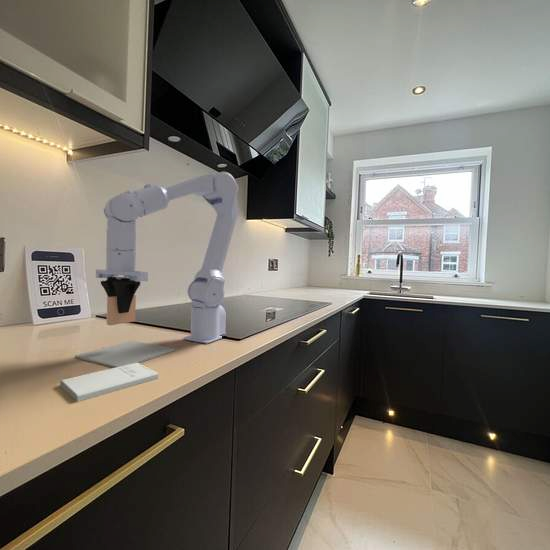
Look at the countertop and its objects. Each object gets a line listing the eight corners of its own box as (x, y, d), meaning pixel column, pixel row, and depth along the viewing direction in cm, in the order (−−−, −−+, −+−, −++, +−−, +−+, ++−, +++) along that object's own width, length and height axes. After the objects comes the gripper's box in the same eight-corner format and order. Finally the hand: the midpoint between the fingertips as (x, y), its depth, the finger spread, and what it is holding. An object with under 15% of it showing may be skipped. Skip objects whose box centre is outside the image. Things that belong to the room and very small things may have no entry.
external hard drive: (60, 389, 48) (136, 369, 58) (77, 406, 43) (158, 381, 53) (60, 379, 48) (136, 361, 58) (77, 395, 43) (158, 372, 53)
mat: (132, 342, 75) (132, 340, 75) (175, 350, 69) (175, 348, 69) (74, 357, 62) (74, 355, 62) (121, 369, 56) (121, 367, 56)
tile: (130, 320, 70) (131, 294, 69) (135, 321, 69) (135, 295, 69) (106, 324, 64) (106, 296, 64) (111, 325, 63) (111, 297, 63)
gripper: (82, 249, 65) (81, 311, 66) (127, 250, 59) (126, 318, 59) (112, 251, 72) (111, 307, 72) (156, 252, 65) (155, 313, 66)
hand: (120, 312), depth 66 cm, fingers closed on tile, 2 cm apart
